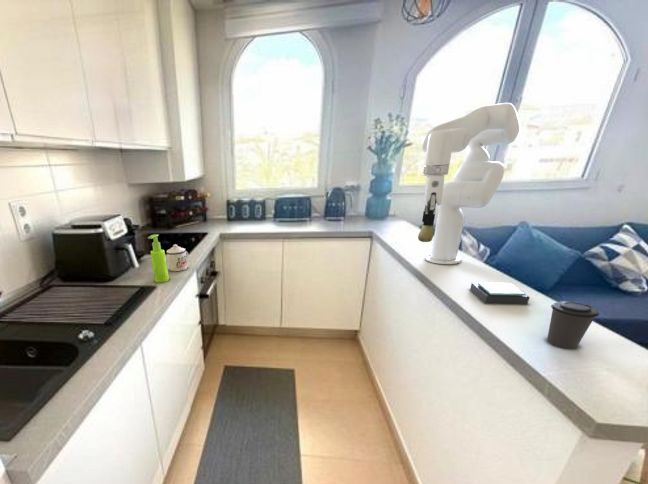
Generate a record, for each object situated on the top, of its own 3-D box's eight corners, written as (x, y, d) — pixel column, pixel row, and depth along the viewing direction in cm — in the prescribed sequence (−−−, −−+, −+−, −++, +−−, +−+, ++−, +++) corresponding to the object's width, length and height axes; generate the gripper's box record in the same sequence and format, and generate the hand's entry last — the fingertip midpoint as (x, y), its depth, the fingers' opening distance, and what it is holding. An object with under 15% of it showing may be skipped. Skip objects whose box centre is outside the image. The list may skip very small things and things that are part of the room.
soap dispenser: (151, 283, 148) (143, 236, 140) (160, 277, 154) (152, 233, 145) (163, 283, 146) (155, 236, 138) (171, 278, 152) (164, 233, 143)
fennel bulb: (432, 243, 125) (437, 210, 120) (417, 243, 128) (421, 210, 123) (432, 240, 130) (437, 207, 125) (417, 239, 132) (422, 207, 127)
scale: (470, 289, 116) (471, 281, 114) (508, 290, 113) (510, 282, 112) (484, 303, 105) (487, 294, 104) (527, 304, 102) (530, 295, 101)
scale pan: (477, 284, 112) (478, 282, 112) (509, 284, 110) (510, 282, 110) (490, 295, 104) (490, 293, 104) (525, 295, 102) (525, 293, 102)
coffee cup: (594, 347, 80) (611, 308, 76) (569, 354, 78) (584, 315, 74) (555, 332, 87) (568, 296, 83) (531, 339, 85) (543, 302, 81)
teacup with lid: (178, 272, 159) (175, 247, 154) (165, 270, 164) (161, 246, 159) (195, 265, 167) (192, 241, 163) (182, 263, 173) (179, 240, 168)
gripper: (451, 171, 110) (441, 228, 117) (445, 167, 124) (437, 219, 131) (425, 173, 113) (417, 228, 120) (422, 169, 127) (414, 219, 134)
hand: (427, 223), depth 126 cm, fingers closed on fennel bulb, 5 cm apart
